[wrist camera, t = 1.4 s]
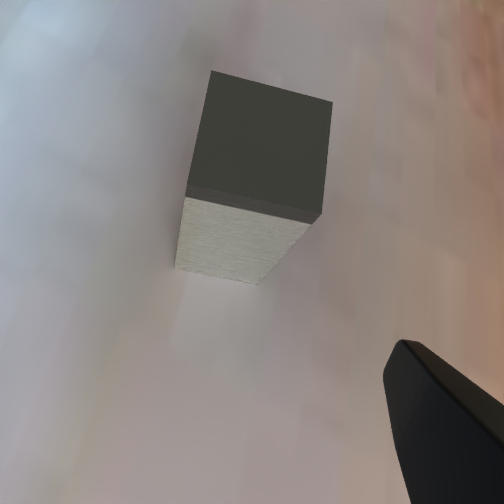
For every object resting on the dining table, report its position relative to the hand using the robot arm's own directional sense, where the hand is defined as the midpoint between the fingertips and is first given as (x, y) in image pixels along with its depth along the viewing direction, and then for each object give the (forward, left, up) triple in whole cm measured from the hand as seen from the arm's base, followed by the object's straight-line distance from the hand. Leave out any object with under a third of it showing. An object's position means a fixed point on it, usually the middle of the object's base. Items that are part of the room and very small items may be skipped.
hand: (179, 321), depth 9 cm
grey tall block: (+7, -2, -14) cm, 16 cm away
